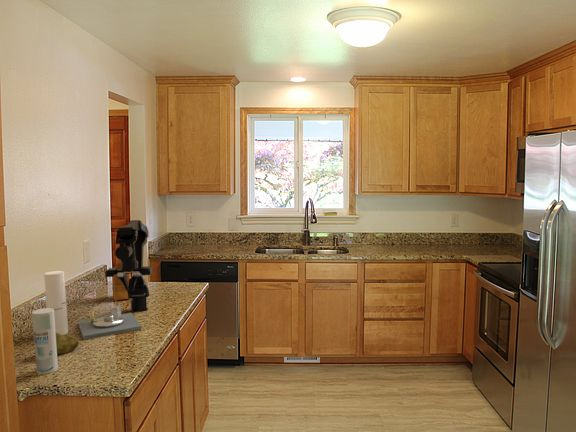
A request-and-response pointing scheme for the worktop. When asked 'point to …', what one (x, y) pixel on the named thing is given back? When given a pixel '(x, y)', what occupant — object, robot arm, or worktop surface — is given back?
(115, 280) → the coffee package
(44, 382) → the worktop surface
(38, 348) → the spray can
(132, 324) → the base board
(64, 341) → the potato
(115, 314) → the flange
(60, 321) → the cylindrical container
